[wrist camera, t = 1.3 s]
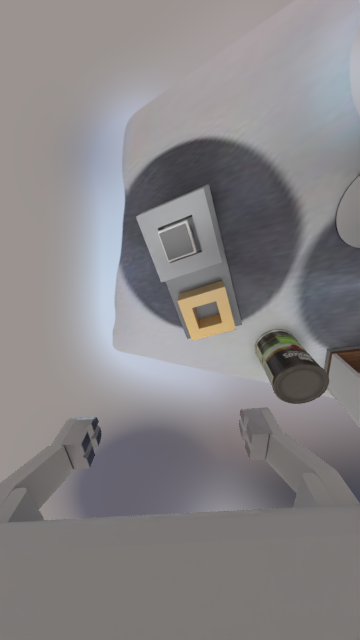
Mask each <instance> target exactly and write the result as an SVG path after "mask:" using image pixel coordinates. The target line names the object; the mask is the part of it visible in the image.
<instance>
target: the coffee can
mask: <svg viewBox="0 0 360 640" xmlns="http://www.w3.org/2000/svg"><path fill="white" fill-rule="evenodd" d="M255 351H256V354H257V356H258V357H259V360H260V362H261V364H262V366H263V368H264V370H265V372H266V374H267V376H268V379H269V381H270V383H271V385H272V387H273V390H274V393H275V394H276V396H277V397H278V398H279V399H281V400H282V401H285V402H288V403H292V404H300V403H306V402H310V401H312V400H314V399H316V398H318V397H320V396H321V395H322V394H323V393H324V392H325V391H326V389H327V387H328V385H329V376H328V374H327V373H326V371H325V370H324V369H323V368H321V367H320V366H319V365H318V364H317V363H316V361H315V360H314V359H313V358H312V357H311V356H310V355H309V354H308V353H307V352H306V350H305V349H304V348H303V347H302V346H301V345H300V344H299V343H298V341H297V340H296V339H295V338H294V336H293V335H292V334H291V333H289V332H287V331H285V330H272V331H269V332H267V333H265V334H263V335H262V336H261V337H260V338H259V339H258V340H257V342H256V345H255Z"/></svg>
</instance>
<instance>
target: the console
mask: <svg viewBox="0 0 360 640" xmlns="http://www.w3.org/2000/svg"><path fill="white" fill-rule="evenodd" d="M136 218H137V221H138V224H139V226H140V229H141V231H142V234H143V236H144V239H145V242H146V244H147V247H148V249H149V252H150V254H151V257H152V260H153V262H154V265H155V267H156V270H157V272H158V275H159V278H160V280H161V282H164V281H166V284H167V286H168V289H169V292H170V294H171V297H172V300H173V302H174V305H175V308H176V310H177V313H178V315H179V318H180V321H181V323H182V326H183V329H184V331H185V334H186V337H187V339H188V338H191V339H192V341H193V340H197V339H200V338H204V337H208V336H212V335H216V334H220V333H224V332H228V331H232V330H236V328H235V326H238V325H242V323H241V318H240V314H239V310H238V306H237V301H236V297H235V293H234V289H233V285H232V280H231V276H230V272H229V268H228V264H227V259H226V255H225V251H224V247H223V242H222V238H221V234H220V230H219V226H218V221H217V217H216V213H215V209H214V205H213V200H212V196H211V192H210V188H209V184H208V185H206V186H203V187H201V188H199V189H196V190H194V191H192V192H189V193H187V194H185V195H182V196H180V197H178V198H175V199H173V200H170V201H168V202H166V203H163V204H161V205H159V206H156V207H154V208H152V209H149V210H147V211H145V212H142V213H140V215H139V216H136ZM186 220H187V221H188V222H189V223H190V227H191V230H192V233H193V237H194V240H195V244H196V251H197V252H196V253H193V254H191V255H188V256H185V257H182V258H179V259H176V260H174V261H171V262H168V260H167V257H166V254H165V251H164V249H163V246H162V243H161V240H160V237H159V235H158V231H161V230H163V229H166V228H168V227H171V226H173V225H176V224H179V223H181V222H184V221H186Z"/></svg>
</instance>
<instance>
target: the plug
mask: <svg viewBox="0 0 360 640" xmlns="http://www.w3.org/2000/svg"><path fill="white" fill-rule="evenodd" d="M158 235H159V237H160V240H161V243H162V246H163V249H164V251H165V254H166V257H167V260H168V262H171V261H174V260H176V259H179V258H182V257H185V256H188V255H191V254H193V253H196V252H197V251H196V244H195V240H194V237H193V233H192V230H191V227H190V223H189V222H188V221H187V220H186V221H184V222H181V223H179V224H176V225H173V226H171V227H168V228H166V229H163V230H161V231H158Z"/></svg>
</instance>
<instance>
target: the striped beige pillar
mask: <svg viewBox="0 0 360 640" xmlns="http://www.w3.org/2000/svg"><path fill="white" fill-rule="evenodd" d="M324 370H325V371H326V373H327V374H328V376H329V385H328V387H327V389H328V390H329V391H330V393H331V394H332V395H333V396H334V397H335V399H336V400H337V401H338V402H339V403H340V405H341V406H342V407H343V408H344V409H345V411H346V412H347V413H348V414H349V415H350V417H351V418H352V419H353V420H354V422H355V423H356V424H357V425H358V426H359V428H360V346H353V347H344V348H335V349H327V354H326V361H325V367H324Z"/></svg>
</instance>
